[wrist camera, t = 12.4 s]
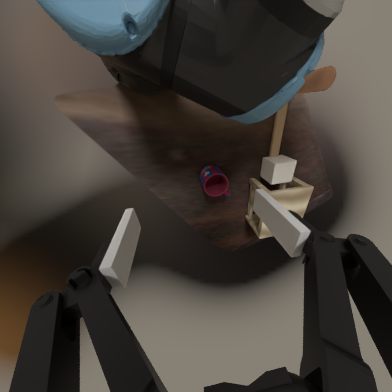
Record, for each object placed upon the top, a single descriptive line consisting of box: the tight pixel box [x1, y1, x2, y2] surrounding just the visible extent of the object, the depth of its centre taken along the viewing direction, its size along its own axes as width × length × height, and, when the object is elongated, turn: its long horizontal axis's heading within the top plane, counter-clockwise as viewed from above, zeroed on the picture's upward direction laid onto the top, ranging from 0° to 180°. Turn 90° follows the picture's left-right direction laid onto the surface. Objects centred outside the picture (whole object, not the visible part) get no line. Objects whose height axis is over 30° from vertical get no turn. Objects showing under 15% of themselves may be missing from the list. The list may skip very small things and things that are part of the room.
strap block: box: [260, 66, 336, 185], centre depth 36 cm, size 24×6×11 cm, turn 6°
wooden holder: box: [245, 177, 314, 239], centre depth 46 cm, size 16×13×10 cm
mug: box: [199, 165, 231, 197], centre depth 42 cm, size 7×10×7 cm
